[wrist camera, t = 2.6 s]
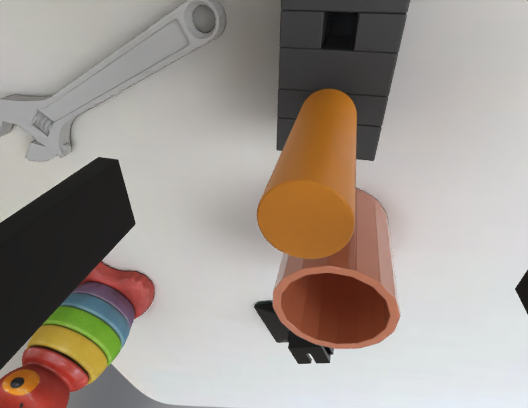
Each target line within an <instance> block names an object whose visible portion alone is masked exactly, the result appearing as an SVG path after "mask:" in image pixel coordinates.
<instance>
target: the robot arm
mask: <svg viewBox="0 0 528 408" xmlns="http://www.w3.org/2000/svg"><path fill="white" fill-rule="evenodd" d="M134 225H135V220H134V216H133V212H132V209H131V205H130V201H129V198H128V194H127V190H126V187H125V183H124V179H123V176H122V172H121V168H120V165H119V161H118V160H116V159H109V158H101V157H98V158H96V159H95V160H93V161H92V162H90V163H89V164H87V165H86V166H84V167H83V168H82V169H80V170H79V171H77V172H76V173H74V174H73V175H71V176H70V177H68V178H67V179H65V180H64V181H62V182H61V183H59V184H58V185H56V186H55V187H53V188H52V189H50V190H49V191H47V192H46V193H44V194H43V195H41V196H40V197H38V198H37V199H35V200H34V201H32V202H31V203H29V204H28V205H26V206H25V207H23V208H22V209H20V210H19V211H17V212H16V213H14V214H13V215H11V216H10V217H8V218H7V219H5V220H4V221H3V222H1V223H0V370H1V369H2V368H3V367H4V365H5V364H6V363H7V362H8V361H9V360H10V359H11V358H12V356H14V355H15V354H16V353H17V351H18V350H19V349H20V348H21V347H22V346H23V345H24V344H25V343H26V342H27V341H28V339H29V338H30V337H31V336H32V335H33V334H34V333H35V332H36V331H37V330H38V329H39V328H40V327H41V326H42V324H43V323H44V322H45V321H46V320H47V319H48V318H49V317H50V316H51V315H52V314H53V313H54V312H55V310H56V309H57V308H58V307H59V306H60V305H61V304H62V303H63V302H64V301H65V300H66V299H67V297H68V296H69V295H70V294H71V293H72V292H73V291H74V290H75V289H76V288H77V287H78V286H79V285H80V283H81V282H82V281H83V280H84V279H85V278H86V277H87V276H88V275H89V274H90V273H91V272H92V270H93V269H94V268H95V267H96V266H97V265H98V264H99V263H100V262H101V261H102V260H103V259H104V258H105V256H106V255H107V254H108V253H109V252H110V251H111V250H112V249H113V248H114V247H115V246H116V245H117V244H118V242H119V241H120V240H121V239H122V238H123V237H124V236H125V235H126V234H127V233H128V232H129V231H130V229H131V228H132V227H133V226H134ZM515 290H516V292H517V294H518V296H519V298H520V300H521V302H522V304H523V306H524V308H525V310H526V312H527V314H528V270H527V272H526V273H525V275H524V276H523V278H522V279H521V281H520V282H519V284H518V285H517V287H516V288H515Z"/></svg>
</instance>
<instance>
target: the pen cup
mask: <svg viewBox="0 0 528 408" xmlns="http://www.w3.org/2000/svg"><path fill="white" fill-rule="evenodd" d="M273 308H274V310H275V312H276V314H277V316H278V318H279V320H280V321H281V323H283V324H284V325H285V326H286V327H287V328H288V329H289V330H291V331H292V332H293V333H294V334H296V335H297V336H299V337H301V338H303V339H305V340H307V341H310V342H312V343H314V344H317V345H322V346H326V347H331V348H335V349H356V348H363V347H366V346H370V345H373V344H377V343H379V342H381V341H382V340H384V339H385V338H386V337H388V336H389V335H390V334H392V333H393V332H394V331H395V328H396V326H397V323H398V321H399V318H400V309H399V300H398V292H397V284H396V276H395V267H394V259H393V251H392V243H391V235H390V228H389V224H388V217H387V214H386V212H385V210H384V208H383V207H382V205H381V204H380V203H379V202H378V201H377V200H376V199H375V198H373V197H372V196H371V195H369V194H367V193H366V192H364V191H361V190H359V189H355V227H354V232H353V235H352V237H351V239H350V240H349V242H348V243H347V244H346V245H345V246H344V247H343V248H342V249H341V250H339V251H338V252H336V253H334V254H332V255H330V256H327V257H323V258H317V259H304V258H298V257H294V256H291V255H288V254H286V253H284V254H283V258H282V261H281V265H280V269H279V272H278V276H277V280H276V283H275V287H274V291H273Z"/></svg>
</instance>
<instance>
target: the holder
mask: <svg viewBox="0 0 528 408" xmlns="http://www.w3.org/2000/svg"><path fill="white" fill-rule="evenodd" d="M409 3H410V0H281V10H282V11H281V22H280V57H279V89H278V120H277V150H280V151H282V150H283V148H284V146H285V144H286V141H287V139H288V137H289V134H290V132H291V130H292V128H293V125H294V123H295V121H296V119H297V116H298V114H299V112H300V110H301V107H302V105H303V103H304V102H305V100H306V99H307V98H308V97H309V96H310V95H311V94H313V93H315V92H316V91H319V90H322V89H336V90H339V91H341V92H343V93H345V94H346V95H348V96H349V97H350V98H351V100H352V101H353V103H354V105H355V108H356V112H357V128H356V159H361V160H370V161H374V159H375V154H376V150H377V145H378V141H379V136H380V132H381V126H382V123H383V118H384V114H385V110H386V105H387V101H388V95H389V92H390V87H391V83H392V78H393V74H394V69H395V65H396V61H397V56H398V52H399V48H400V43H401V39H402V34H403V30H404V25H405V21H406V16H407V14H406V13H407V11H408V7H409ZM330 12H353V13H358V18H357V25H356V32H355V37H344V36H328V29H329V20H330Z"/></svg>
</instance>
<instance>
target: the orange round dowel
mask: <svg viewBox="0 0 528 408" xmlns="http://www.w3.org/2000/svg"><path fill="white" fill-rule="evenodd" d="M356 128H357V112H356V108H355V105H354V103H353V101H352V100H351V98H350V97H349V96H348V95H346V94H345V93H343V92H341V91H339V90H336V89H322V90H319V91H316V92H315V93H313V94H311V95H310V96H309V97H308V98H307V99H306V100H305V102H304V103H303V105H302V107H301V110H300V112H299V114H298V116H297V119H296V121H295V123H294V125H293V128H292V130H291V132H290V134H289V137H288V139H287V141H286V144H285V146H284V148H283V150H282V153H281V155H280V157H279V159H278V162H277V164H276V166H275V168H274V171H273V173H272V175H271V177H270V180H269V182H268V184H267V186H266V189H265V191H264V193H263V195H262V198H261V200H260V202H259V205H258V209H257V221H258V225H259V228H260V230H261V232H262V234H263V235H264V237H265V238H266V239H267V241H268V242H269V243H270V244H272V245H273V246H274V247H275V248H277V249H278V250H280V251H282V252H283V253H286V254H288V255H291V256H294V257H298V258H304V259H317V258H323V257H327V256H330V255H332V254H334V253H336V252H338V251H339V250H341V249H342V248H343V247H344V246H345V245H346V244H347V243H348V242H349V240H350V239H351V237H352V235H353V232H354V227H355V184H356Z"/></svg>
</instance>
